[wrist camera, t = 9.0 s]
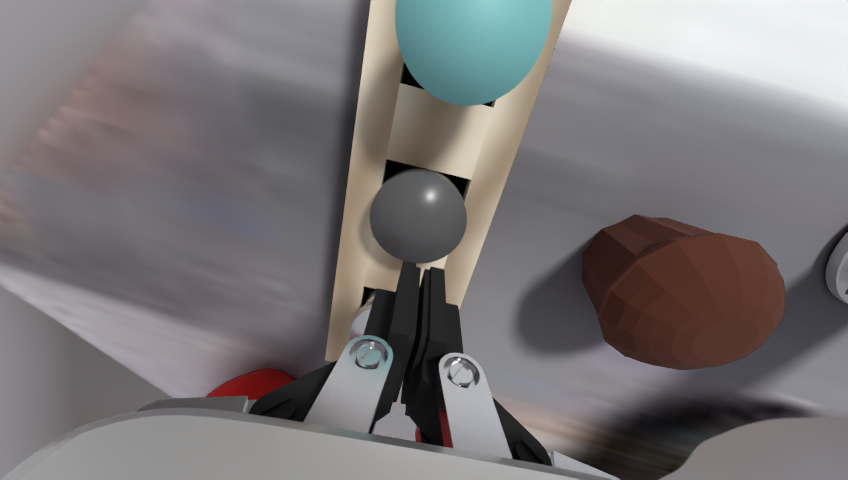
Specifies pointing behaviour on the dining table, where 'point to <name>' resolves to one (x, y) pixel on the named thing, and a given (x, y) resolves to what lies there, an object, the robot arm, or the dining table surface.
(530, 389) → the dining table surface
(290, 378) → the ceramic cup
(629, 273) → the muffin
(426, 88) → the teal knob
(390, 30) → the box
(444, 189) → the dark gray knob
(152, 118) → the dining table surface
